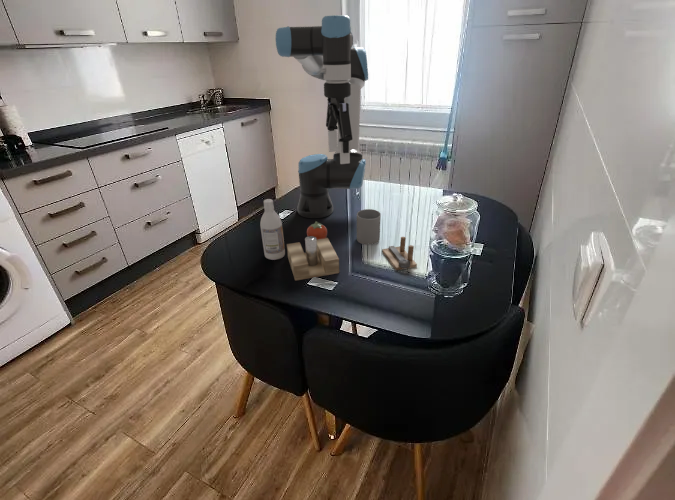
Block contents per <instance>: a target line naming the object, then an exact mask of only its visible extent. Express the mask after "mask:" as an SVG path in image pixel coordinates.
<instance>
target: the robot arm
mask: <svg viewBox="0 0 675 500" xmlns="http://www.w3.org/2000/svg"><path fill="white" fill-rule="evenodd" d="M351 30H352V26H351V18H350V16H348V15H346V14H345V15H344V14H343V15H342V14H339V15H337V14H336V15H333V14H332V15H325V16H323V17H322V19H321V25H316V26H315V25H314V26H285V27H283V26H282V27H278V28H277V29H276V31H275V47H276V52H277V54H278V55H279V56H280V57H282V58H290V57H292V58H294V59H295V60H296V61H297V62H298V63H300V64H301V67H302V69H303V70H304V71H305V74H308V75H309V76H310V77H313V78H316V79H318V80H320V81H321V80H322V81H325V82H324V83H323V92H324V93H323V94H324V95H323V96H324V97H325V98H327V106H326V107H327V108H326V121H325V126H326V128H327V138H328V139H327V140H328V141H327V142H328V153H333V152H334V153H333V155H332V156H333V157H332V158H328V156H327V155H326V154H322V153H317V154H316V153H315V154H311V155H307V156H304V157H302V158H301V159H299V161H298V167H297V168H298V171H297V172H298V173H297V174H298V181H299V182H298V183H299V192H300V193H299V200H298V203H297V207H296V208H297V214H298V215H299V216H301V217H303V218H306V219H307V218H308V219H321V218H326V217H328V216H330V215H332V214H333V212H334V204H333V202H332V199H331V196H330V193H329V189H332V190H334V189H337V190H338V189H339V190H358V189H361V187H362V186H363V184H364V178H365V173H366V165H367V159H365V158H363V153H362V152H361V151H360V126H361V125H360V122H361V121H360V119H361V116H360V115H361V89H363V87H364V86H365V83H366V82H365V81H369V70H368V58H367V51H366V49H365V48H364V47H360V46H353V45H354V36H353V33H352V31H351Z"/></svg>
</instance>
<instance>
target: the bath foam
mask: <svg viewBox="0 0 675 500" xmlns="http://www.w3.org/2000/svg"><path fill="white" fill-rule="evenodd" d="M274 206H275V205H274V201H273V199H271V198H267V199H264V200H263V207H264V212H263V214H262V216H261V218H260V225H259V227H260V232H261V239H262V248H263V253H264V257H265V258H266V259H268V260H272V261H273V260H274V261H275V260H280V259H282V258H283V257H285V255H286V249H285V248H286V247H285V241H284V240H285V239H284V229H283V222H282V218H281V217H280V216H279V214H278V213H277V212H276V211H275V207H274Z"/></svg>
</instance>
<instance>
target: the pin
mask: <svg viewBox="0 0 675 500" xmlns="http://www.w3.org/2000/svg"><path fill="white" fill-rule="evenodd" d="M304 243H305V244H304V245H305V253H306V260H307V262H308V266H316V265H317V264H318V256H317V240H316V237H314V236H306V237H304Z"/></svg>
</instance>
